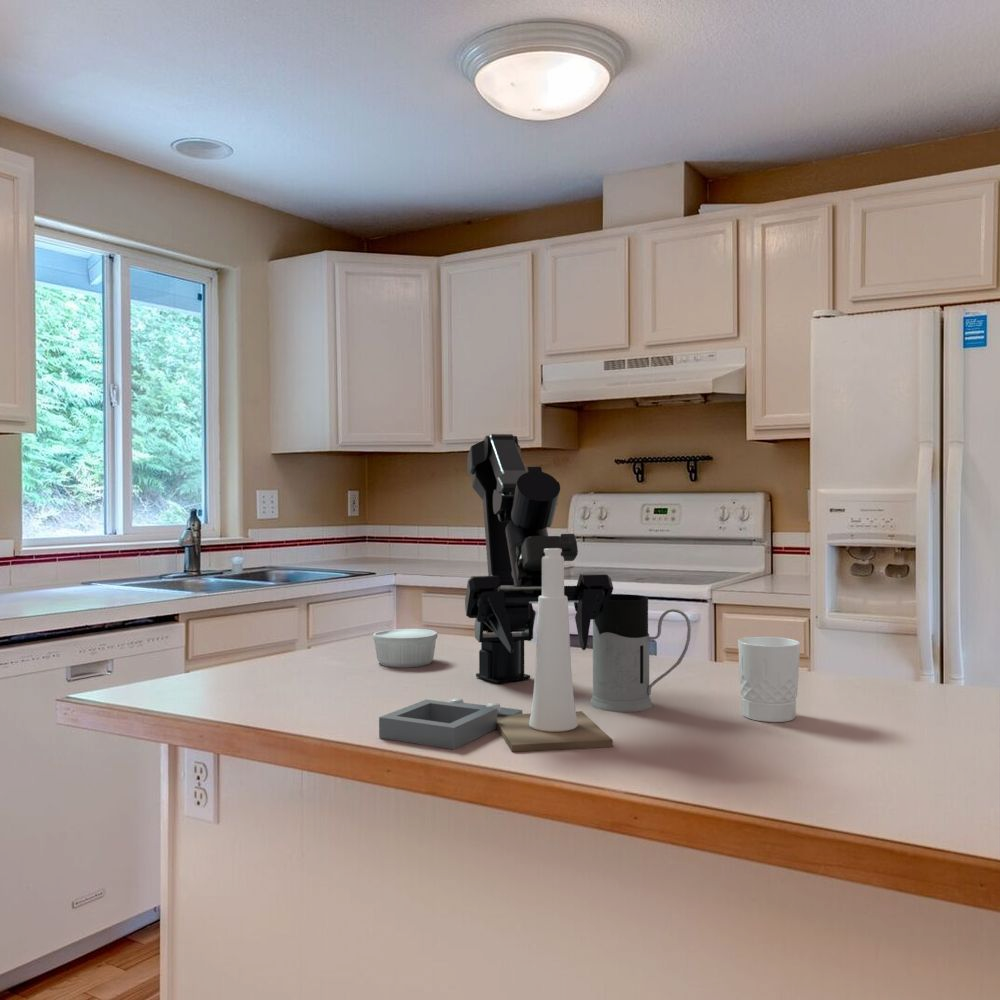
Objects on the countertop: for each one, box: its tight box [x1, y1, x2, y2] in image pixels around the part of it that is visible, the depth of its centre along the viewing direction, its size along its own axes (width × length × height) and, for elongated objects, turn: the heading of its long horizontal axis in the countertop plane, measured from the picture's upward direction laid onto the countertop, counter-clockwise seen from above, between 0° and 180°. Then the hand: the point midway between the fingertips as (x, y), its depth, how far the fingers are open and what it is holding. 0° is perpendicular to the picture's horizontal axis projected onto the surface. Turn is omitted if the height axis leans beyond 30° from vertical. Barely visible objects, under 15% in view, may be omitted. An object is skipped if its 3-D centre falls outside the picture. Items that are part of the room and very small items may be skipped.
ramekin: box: [372, 628, 438, 668], centre depth 160 cm, size 11×11×5 cm
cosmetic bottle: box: [529, 548, 578, 732], centre depth 114 cm, size 6×6×22 cm
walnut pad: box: [497, 710, 614, 753], centre depth 114 cm, size 14×12×1 cm
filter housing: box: [378, 697, 523, 750], centre depth 117 cm, size 18×11×2 cm, turn 152°
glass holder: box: [589, 593, 692, 713], centre depth 128 cm, size 9×14×15 cm, turn 64°
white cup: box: [737, 635, 801, 723], centre depth 122 cm, size 8×8×10 cm
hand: (548, 649), depth 114 cm, fingers open, 9 cm apart
